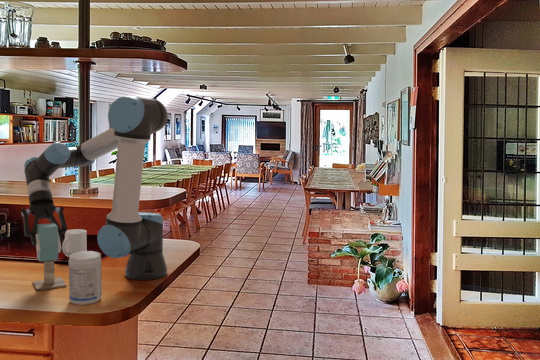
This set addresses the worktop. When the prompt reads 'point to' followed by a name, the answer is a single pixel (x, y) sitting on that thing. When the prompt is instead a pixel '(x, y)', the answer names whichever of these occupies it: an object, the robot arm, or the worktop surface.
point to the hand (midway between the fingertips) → (49, 251)
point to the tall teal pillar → (48, 241)
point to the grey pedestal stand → (49, 278)
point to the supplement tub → (85, 277)
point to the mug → (74, 241)
